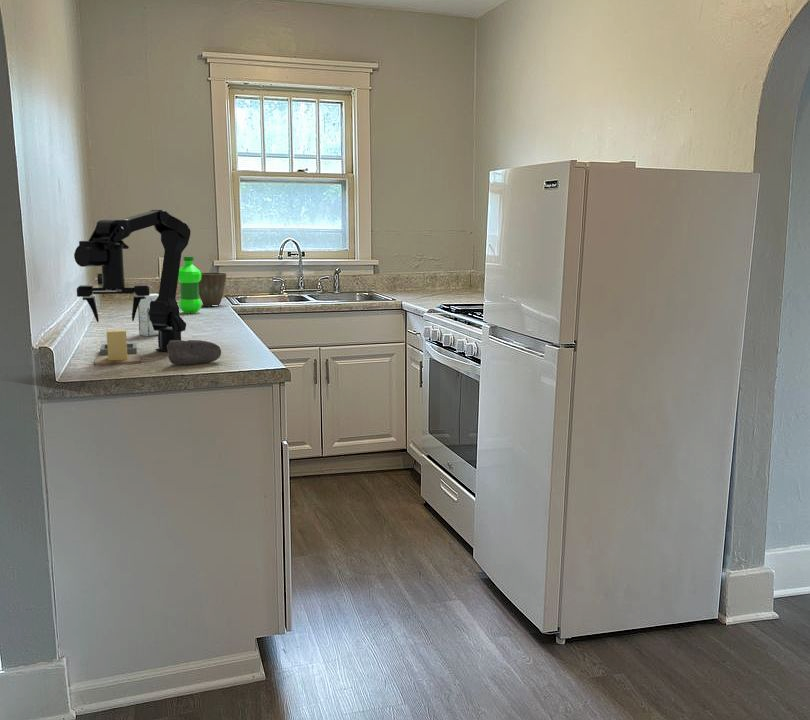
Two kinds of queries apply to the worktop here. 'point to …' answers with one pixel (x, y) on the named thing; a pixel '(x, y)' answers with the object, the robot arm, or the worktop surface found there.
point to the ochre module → (117, 344)
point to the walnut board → (104, 360)
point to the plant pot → (211, 288)
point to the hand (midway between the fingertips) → (115, 321)
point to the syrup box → (146, 316)
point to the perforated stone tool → (192, 352)
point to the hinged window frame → (130, 349)
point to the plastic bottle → (189, 287)
